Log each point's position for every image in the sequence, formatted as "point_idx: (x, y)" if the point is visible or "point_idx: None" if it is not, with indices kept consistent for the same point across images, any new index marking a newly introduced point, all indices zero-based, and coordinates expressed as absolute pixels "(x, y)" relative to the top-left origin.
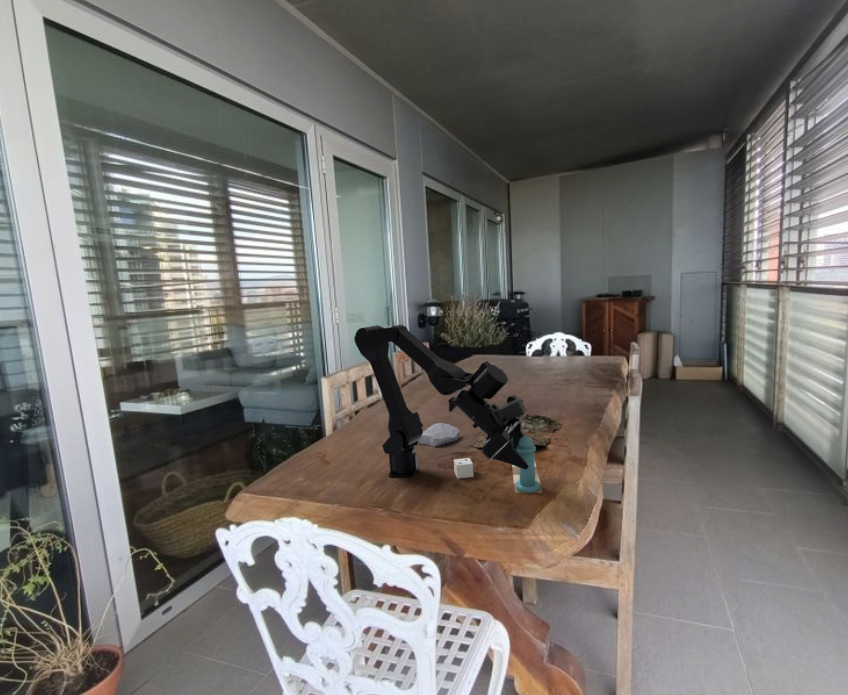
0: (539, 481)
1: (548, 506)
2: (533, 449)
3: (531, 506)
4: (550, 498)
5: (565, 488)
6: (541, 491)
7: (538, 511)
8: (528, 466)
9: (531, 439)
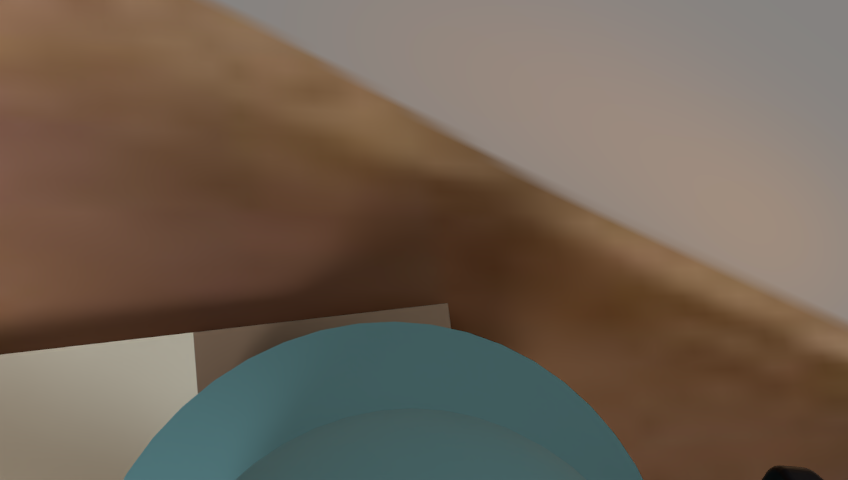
0: (136, 343)
1: (659, 249)
2: (557, 380)
3: (690, 408)
4: (493, 229)
5: (242, 75)
6: (413, 314)
7: (769, 338)
8: (809, 471)
9: (423, 467)
